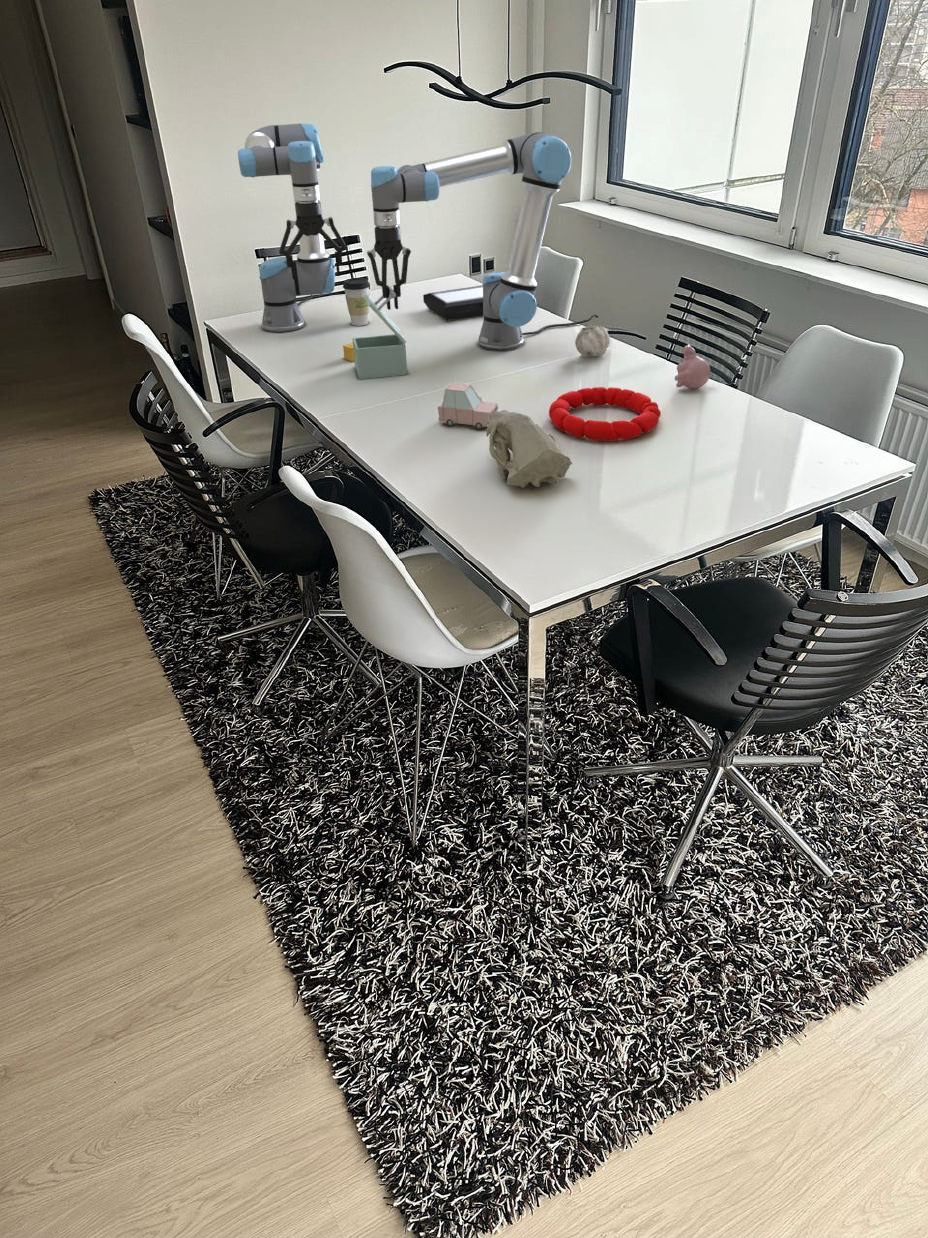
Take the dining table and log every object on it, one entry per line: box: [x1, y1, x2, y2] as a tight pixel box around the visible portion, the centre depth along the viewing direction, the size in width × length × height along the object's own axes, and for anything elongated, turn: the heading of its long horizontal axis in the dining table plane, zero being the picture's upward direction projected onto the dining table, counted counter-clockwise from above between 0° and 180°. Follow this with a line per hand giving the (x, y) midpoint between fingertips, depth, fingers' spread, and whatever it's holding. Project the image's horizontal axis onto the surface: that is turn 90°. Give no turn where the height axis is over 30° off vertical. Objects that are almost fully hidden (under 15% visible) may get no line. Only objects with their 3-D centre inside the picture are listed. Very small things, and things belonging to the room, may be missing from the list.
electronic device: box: [422, 284, 483, 322], centre depth 335 cm, size 32×6×20 cm
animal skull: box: [485, 409, 573, 489], centre depth 216 cm, size 17×25×20 cm
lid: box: [365, 286, 407, 345], centre depth 274 cm, size 16×12×8 cm
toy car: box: [437, 382, 499, 431], centre depth 243 cm, size 9×15×10 cm, turn 70°
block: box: [342, 342, 355, 363], centre depth 293 cm, size 4×4×4 cm
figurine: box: [674, 344, 711, 390], centre depth 259 cm, size 9×11×12 cm
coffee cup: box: [342, 277, 371, 327], centre depth 323 cm, size 10×10×15 cm
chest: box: [352, 333, 408, 380], centre depth 281 cm, size 15×12×9 cm
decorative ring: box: [548, 386, 661, 442], centre depth 242 cm, size 7×30×30 cm
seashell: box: [574, 324, 611, 358], centre depth 286 cm, size 10×15×10 cm
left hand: (316, 276), depth 273 cm, fingers open, 13 cm apart
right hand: (392, 307), depth 273 cm, fingers closed on lid, 2 cm apart
